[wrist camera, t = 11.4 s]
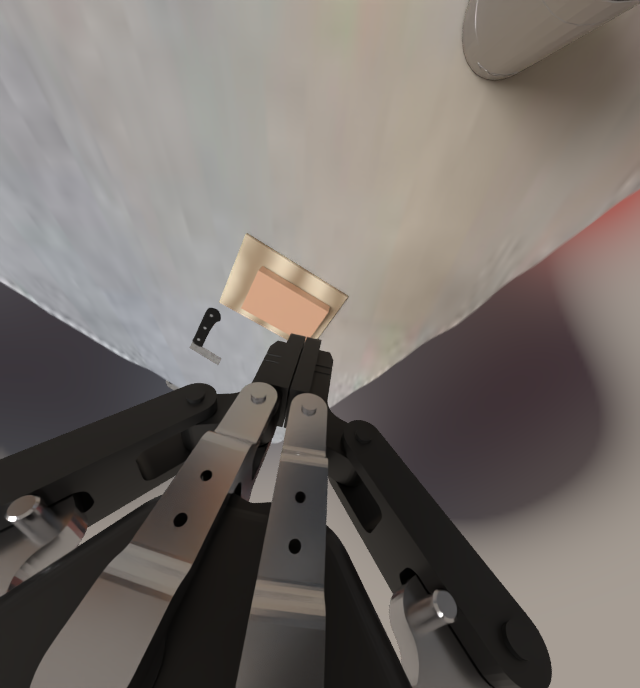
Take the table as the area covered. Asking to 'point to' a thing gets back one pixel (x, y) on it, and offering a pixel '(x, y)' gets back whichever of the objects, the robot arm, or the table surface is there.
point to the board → (260, 255)
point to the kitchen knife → (203, 338)
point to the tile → (284, 304)
